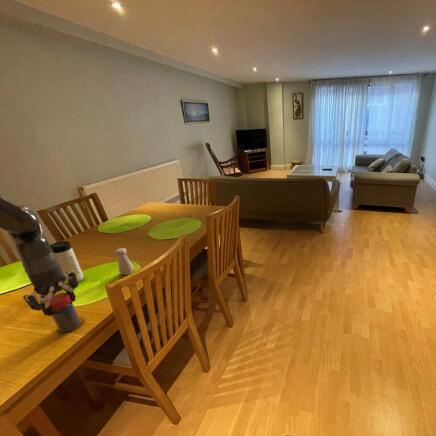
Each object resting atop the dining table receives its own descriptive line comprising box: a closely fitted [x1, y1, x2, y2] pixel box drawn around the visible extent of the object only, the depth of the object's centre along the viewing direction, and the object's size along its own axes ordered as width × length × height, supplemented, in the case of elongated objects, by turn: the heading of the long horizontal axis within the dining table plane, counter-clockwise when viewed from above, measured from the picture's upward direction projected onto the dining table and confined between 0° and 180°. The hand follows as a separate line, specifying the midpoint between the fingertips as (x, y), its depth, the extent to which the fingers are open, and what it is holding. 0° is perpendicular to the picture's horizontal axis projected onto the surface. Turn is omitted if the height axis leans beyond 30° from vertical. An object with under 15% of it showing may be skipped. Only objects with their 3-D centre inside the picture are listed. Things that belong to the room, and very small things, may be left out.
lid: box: [49, 292, 71, 311], centre depth 82 cm, size 6×6×2 cm
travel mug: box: [49, 240, 85, 286], centre depth 107 cm, size 6×7×20 cm
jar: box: [51, 302, 82, 333], centre depth 84 cm, size 6×6×11 cm
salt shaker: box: [114, 247, 134, 276], centre depth 114 cm, size 6×6×13 cm
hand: (61, 307), depth 83 cm, fingers closed on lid, 6 cm apart
